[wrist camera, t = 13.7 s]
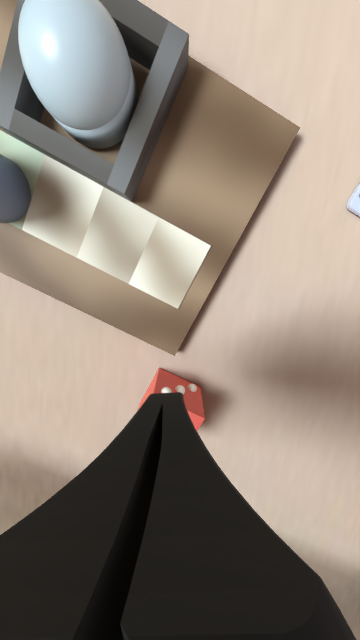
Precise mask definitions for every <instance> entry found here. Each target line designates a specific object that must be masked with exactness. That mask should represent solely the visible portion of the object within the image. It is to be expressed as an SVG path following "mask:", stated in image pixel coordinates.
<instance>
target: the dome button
mask: <svg viewBox="0 0 360 640" xmlns="http://www.w3.org/2000/svg"><path fill="white" fill-rule="evenodd" d="M18 40H19V50H20V55H21V59H22V63H23V67H24V70H25V73H26V75H27V78H28V80H29V82H30V85H31V87H32V89H33V90H34V92H35V94H36V95H37V97H38V99H39V100H40V102H41V103H42V104H43V106H44V107H45V108H46V110H47V111H48V112H49V113H50V114H51V115H52V116H53V117H54V119H55V120H56V121H57V122H58V123H59V124H60V125H61V126H62V127H63V129H64V130H65V131H66V132H67V133H68V134H69V135H70V136H71V137H72V138H73V139H74V140H76V141H77V142H79V143H80V144H82V145H84V146H87V147H90V148H96V149H102V148H108V147H111V146H113V145H115V144H117V143H119V142H120V141H121V140H122V139H124V138H125V135H126V132H127V130H128V127H129V124H130V122H131V119H132V117H133V114H134V111H135V109H136V106H137V103H138V92H137V87H136V82H135V79H134V75H133V71H132V67H131V64H130V60H129V56H128V52H127V49H126V46H125V43H124V40H123V38H122V35H121V33H120V31H119V29H118V27H117V25H116V23H115V21H114V20H113V18H112V17H111V15H110V14H109V12H108V11H107V9H106V8H105V7H104V6H103V4H102V3H101V2H100V1H99V0H25V2H24V4H23V6H22V10H21V13H20V18H19V25H18Z"/></svg>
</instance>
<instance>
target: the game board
mask: <svg viewBox="0 0 360 640" xmlns="http://www.w3.org/2000/svg"><path fill="white" fill-rule="evenodd" d="M99 1H100V2H101V3H102V4H103V6H104V7H105V8H106V9H107V11H108V12H109V14H110V15H111V17H112V18H113V20H114V21H115V23H116V25H117V27H118V29H119V31H120V33H121V35H122V38H123V40H124V43H125V46H126V49H127V52H128V56H129V60H130V64H131V67H132V71H133V75H134V79H135V82H136V87H137V92H138V103H137V106H136V109H135V111H134V114H133V117H132V119H131V122H130V124H129V127H128V130H127V132H126V135H125V138H124V139H122V140H121V141H120V142H119V143H117V144H115V145H113V146H111V147H108V148H102V149H96V148H90V147H87V146H84V145H82V144H80V143H79V142H77V141H76V140H74V139H73V138H72V137H71V136H70V135H69V134H68V133H67V132H66V131H65V130H64V129H63V127H62V126H61V125H60V124H59V123H58V122H57V121H56V120H55V119H54V117H53V116H52V115H51V114H50V113H49V112H48V111H47V110H46V108H45V107H44V106H43V104H42V103H41V102H40V100H39V99H38V97H37V95H36V94H35V92H34V90H33V89H32V87H31V85H30V82H29V80H28V78H27V75H26V73H25V70H24V67H23V63H22V59H21V55H20V50H19V40H18V25H19V18H20V13H21V10H22V6H23V4H24V2H25V0H0V154H1V155H3V156H5V157H6V158H8V159H10V160H11V161H13V162H14V163H15V164H16V165H17V166H18V167H19V168H20V169H21V170H22V171H23V173H24V174H25V176H26V178H27V180H28V183H29V186H30V192H31V200H30V205H29V208H28V210H27V212H26V213H25V214H24V216H23V217H21V218H20V219H19V220H17V221H15V222H11V223H1V222H0V272H1V273H3V274H5V275H7V276H10V277H12V278H14V279H16V280H18V281H20V282H22V283H24V284H26V285H28V286H30V287H32V288H35V289H37V290H39V291H41V292H43V293H45V294H47V295H49V296H51V297H53V298H55V299H57V300H60V301H62V302H64V303H66V304H68V305H70V306H72V307H74V308H76V309H78V310H80V311H82V312H85V313H87V314H89V315H91V316H93V317H95V318H97V319H99V320H101V321H103V322H105V323H107V324H110V325H112V326H114V327H116V328H118V329H120V330H122V331H124V332H126V333H128V334H130V335H132V336H135V337H137V338H139V339H141V340H143V341H145V342H147V343H149V344H151V345H153V346H155V347H157V348H160V349H162V350H164V351H166V352H168V353H170V354H172V355H174V356H175V354H176V353H177V351H178V349H179V347H180V345H181V343H182V342H183V340H184V338H185V336H186V334H187V333H188V331H189V329H190V327H191V325H192V324H193V322H194V320H195V318H196V316H197V314H198V313H199V311H200V309H201V307H202V305H203V304H204V302H205V300H206V298H207V296H208V294H209V293H210V291H211V289H212V287H213V285H214V284H215V282H216V280H217V278H218V276H219V274H220V273H221V271H222V269H223V267H224V265H225V264H226V262H227V260H228V258H229V256H230V254H231V253H232V251H233V249H234V247H235V245H236V244H237V242H238V240H239V238H240V236H241V234H242V233H243V231H244V229H245V227H246V225H247V224H248V222H249V220H250V218H251V216H252V214H253V213H254V211H255V209H256V207H257V205H258V204H259V202H260V200H261V198H262V196H263V194H264V193H265V191H266V189H267V187H268V185H269V184H270V182H271V180H272V178H273V176H274V174H275V173H276V171H277V169H278V167H279V165H280V164H281V162H282V160H283V158H284V156H285V154H286V153H287V151H288V149H289V147H290V145H291V144H292V142H293V140H294V138H295V136H296V134H297V133H298V131H299V129H300V127H298V126H297V125H295V124H294V123H292V122H291V121H289V120H287V119H286V118H284V117H283V116H281V115H280V114H278V113H277V112H275V111H273V110H272V109H270V108H269V107H267V106H266V105H264V104H263V103H261V102H260V101H258V100H256V99H255V98H253V97H252V96H250V95H249V94H247V93H246V92H244V91H242V90H241V89H239V88H238V87H236V86H235V85H233V84H232V83H230V82H228V81H227V80H225V79H224V78H222V77H221V76H219V75H218V74H216V73H214V72H213V71H211V70H210V69H208V68H207V67H205V66H204V65H202V64H200V63H199V62H197V61H196V60H194V59H193V58H191V57H190V56H188V44H189V34H188V33H186V32H185V31H183V30H182V29H180V28H179V27H177V26H176V25H174V24H173V23H171V22H170V21H168V20H167V19H165V18H163V17H162V16H160V15H159V14H157V13H156V12H154V11H153V10H151V9H150V8H148V7H147V6H145V5H144V4H142V3H141V2H139V1H138V0H99Z"/></svg>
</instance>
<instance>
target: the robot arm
mask: <svg viewBox="0 0 360 640" xmlns="http://www.w3.org/2000/svg"><path fill="white" fill-rule="evenodd" d="M359 194H360V183H359V185H358V186H357V188H356V190H355V191H354V193H353V194H352V196H351V197H350V199H349V201H348V203H347V207H348V209H349V210H350V211H351V212H353V213H354V214H356V215H358V216H359V217H360V198H359ZM0 640H356V638H355V637H354V635H353V633H352V631H351V629H350V627H349V626H348V624H347V622H346V620H345V618H344V616H343V615H342V613H341V611H340V609H339V607H338V606H337V604H336V602H335V601H334V599H333V597H332V596H331V594H330V592H329V591H328V589H327V587H326V586H325V584H324V582H323V581H322V579H321V578H320V576H319V575H318V574H317V573H315V572H314V571H313V570H312V569H311V568H310V567H309V566H308V565H307V564H306V563H305V562H304V561H303V560H302V559H301V558H300V557H299V556H298V555H297V554H296V553H295V552H294V551H293V550H292V549H291V548H290V547H289V546H288V545H287V544H286V543H285V542H284V541H283V540H282V539H281V538H280V537H279V536H278V535H277V534H276V533H275V532H274V531H273V530H272V529H271V528H270V527H269V526H268V525H267V524H266V522H265V521H264V520H263V519H262V518H261V517H260V516H259V515H258V514H257V513H256V512H255V511H254V509H253V508H252V507H251V506H250V505H249V503H248V502H247V501H246V500H245V499H244V498H243V496H242V495H241V494H240V493H239V492H238V490H237V489H236V488H235V487H234V486H233V485H232V483H231V482H230V481H229V480H228V478H227V477H226V476H225V474H224V473H223V471H222V470H221V469H220V467H219V466H218V465H217V463H216V462H215V460H214V459H213V457H212V456H211V454H210V453H209V451H208V450H207V448H206V447H205V445H204V443H203V441H202V440H201V438H200V436H199V435H198V433H197V431H196V429H195V427H194V425H193V423H192V421H191V419H190V416H189V414H188V412H187V409H186V406H185V403H184V398H183V394H182V393H181V392H174V393H154V394H150V395H149V396H148V398H147V399H146V400H145V402H144V403H143V405H142V406H141V407H140V409H139V410H138V411H137V413H136V414H135V415H134V416H133V418H132V419H131V420H130V421H129V423H128V424H127V425H126V426H125V428H124V429H123V430H122V431H121V432H120V433H119V434H118V436H117V437H116V438H115V439H114V440H113V441H112V442H111V443H110V444H109V446H108V447H107V448H106V449H105V450H104V451H103V452H102V453H101V454H100V455H99V456H98V457H97V458H96V459H95V460H94V461H93V462H92V463H91V464H90V465H89V466H88V467H87V468H85V469H84V470H83V471H82V472H81V473H80V474H79V475H78V476H76V477H75V478H74V479H73V480H72V481H70V482H69V483H68V484H67V485H66V486H64V487H63V488H62V489H61V490H60V491H58V492H57V493H56V494H55V495H54V496H52V497H51V498H50V499H49V500H47V501H46V502H45V503H44V504H42V505H41V506H40V507H38V508H37V509H36V510H34V511H33V512H32V513H30V514H29V515H28V516H26V517H25V518H24V519H22V520H21V521H19V522H18V523H17V524H15V525H14V526H12V527H11V528H10V529H8V530H7V531H6V532H4V533H3V534H1V535H0Z"/></svg>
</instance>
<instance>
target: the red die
mask: <svg viewBox="0 0 360 640" xmlns="http://www.w3.org/2000/svg"><path fill="white" fill-rule="evenodd" d="M174 392H181V393H182V394H183V398H184V403H185V406H186V409H187V412H188V414H189V416H190V419H191V421H192V423H193V425H194V427H195V429H196V431H197V430H198V429H199V427H200V426H201V424H202V423H203V421H204V419H205V415H204V408H203V400H202V393H201V387H199V386H197V385H195V384H193V383H191V382H188V381H186V380H184V379H182V378H180V377H178V376H176V375H174V374H171V373H169V372H167V371H165V370H163V369H161V368H159V369H158V371H157V373H156V375H155V377H154V379H153V380H152V382H151V384H150V386H149V388H148V390H147V391H146V393H145V395H144V397H143V399H142V401H141V403H140V405H139V408H138V410H139V409H140V407H141V406H142V405H143V403H144V402H145V400H146V399H147V398H148V396H149V395H150V394H154V393H174Z"/></svg>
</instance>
